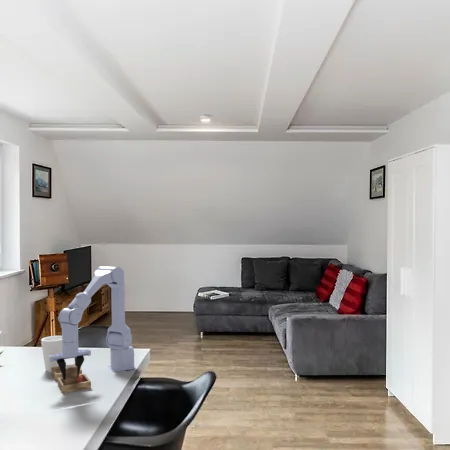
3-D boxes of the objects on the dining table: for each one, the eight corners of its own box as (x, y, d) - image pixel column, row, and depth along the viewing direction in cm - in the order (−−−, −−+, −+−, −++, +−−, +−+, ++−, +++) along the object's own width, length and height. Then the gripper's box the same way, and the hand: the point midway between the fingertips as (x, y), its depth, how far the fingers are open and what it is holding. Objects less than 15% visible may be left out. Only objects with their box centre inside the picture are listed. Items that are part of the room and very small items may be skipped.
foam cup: (57, 373, 184) (56, 341, 184) (37, 372, 186) (36, 340, 186) (69, 366, 193) (69, 336, 193) (50, 365, 195) (50, 335, 195)
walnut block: (74, 380, 168) (74, 364, 168) (77, 383, 165) (77, 367, 165) (63, 382, 166) (63, 366, 166) (66, 385, 163) (66, 368, 163)
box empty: (76, 370, 187) (76, 363, 187) (82, 377, 179) (81, 370, 179) (51, 374, 183) (51, 367, 183) (55, 382, 174) (55, 374, 174)
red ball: (82, 381, 173) (82, 372, 173) (84, 384, 170) (84, 375, 170) (72, 383, 171) (72, 374, 171) (74, 386, 168) (74, 376, 168)
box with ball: (84, 381, 174) (84, 373, 174) (90, 389, 166) (90, 381, 166) (57, 386, 169) (57, 378, 169) (62, 394, 161) (62, 386, 161)
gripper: (87, 335, 173) (87, 371, 173) (47, 341, 165) (47, 378, 165) (92, 339, 167) (92, 376, 167) (51, 345, 159) (51, 384, 159)
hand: (70, 377), depth 166 cm, fingers closed on walnut block, 4 cm apart
